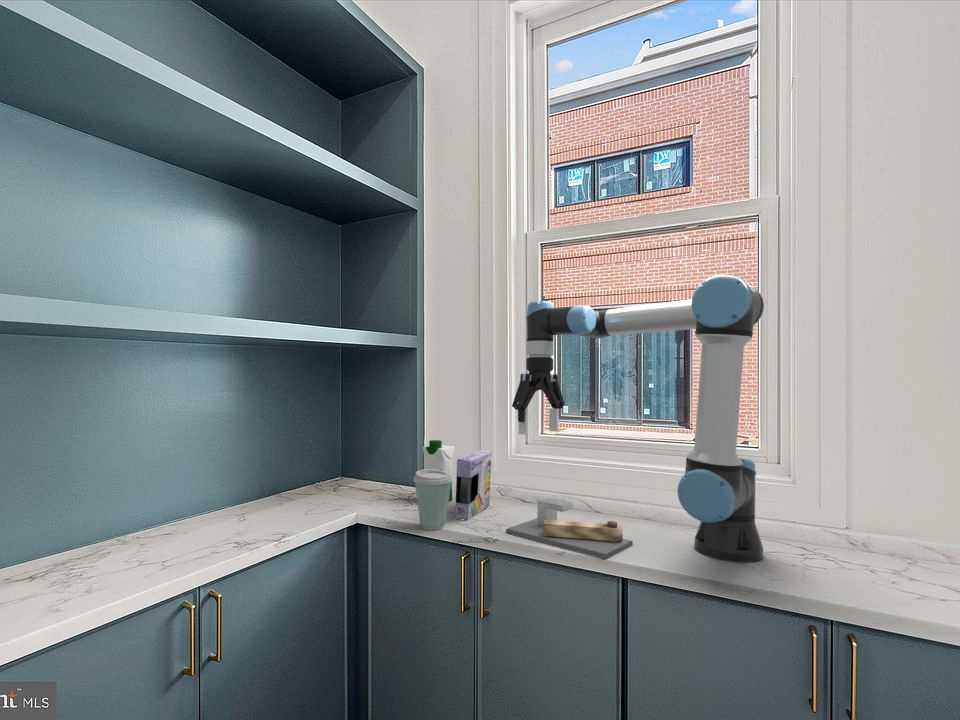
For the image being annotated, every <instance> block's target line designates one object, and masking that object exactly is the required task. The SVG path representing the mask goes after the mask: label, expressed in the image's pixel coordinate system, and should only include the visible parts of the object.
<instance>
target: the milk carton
mask: <svg viewBox="0 0 960 720" xmlns="http://www.w3.org/2000/svg"><path fill="white" fill-rule="evenodd" d="M455 448H456V446H453V445H451V446H450V445H443V443H442V440H439V439H438V440H437V439H431V440H429V443H428V445H425V446H422V450H423V456H424V459H423V460H424V462H423V463H424V465H423V466H424V469H436V470H441V471H445V472H448V473H449V475H450V476H451V477H452V478H453V458H454V452H455ZM424 469H423V470H424ZM450 502H453V480H452V481H451V487H450V494H449V501H448V503H450Z"/></svg>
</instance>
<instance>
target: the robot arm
mask: <svg viewBox="0 0 960 720" xmlns="http://www.w3.org/2000/svg"><path fill="white" fill-rule="evenodd" d="M764 303H765V302H764V299H763V297H762V294H761V292H760V291H759V290H758V289H756V288H755V286H752V285H751V284H749V283H747V282H746V281H745V280H744V279H742V278H740V277H738V276H735V275H729V274H717V275H713V276H711V277H709V278H706V279H705V280H704V281H702V282H701V283H700V284H699V285H698V286H697V287H696V289H695V290H694V291H693V294H692V297H691V299H685V300H684V299H683V300H676V301H669V302H661V303H653V304H644V305H636V306H635V305H634V306H627V307H626V306H625V307H620V308H612V309H611V308H609V309H602V310H594V309H593V307H591V306H589V305H574V306H563V307H555V304H554V302H553V301H549V300H548V301H547V300H539V301H538V300H536V301H535V300H534V301H531V302H529V303H528V304H527V310H526V311H527V313H526V335H527V336H526V355H527V356H528V357H527V358H526V359H525V360H526V363H525V365H526V368H525V369H526V370H527V371H528V373H521V374H520V378H519V379H520V381H519V383H518V387H517V390H516V393H515V396H514V399H513V402H512V405H511V406H512V409H513V408H514V410H517V421H518V422H517V423H518V435H523V436H524V435H526V436H528V435H529V409H528V407H529V405H530V403H531V401H532V399H533V397H534V396H535V393H536V392H538V391H542V392H543V394H544V395H545V397H546V399H547V401H548V403H549V405H550V406H551V407H550V408H549V431H550V432H557V433H558V432H559V429H560V425H559V424H560V423H559V420H560V409H563V408H564V406H565V401H564V398H563V394H562V391H561V386H560V383H559V376H558V374H557V373H553V374H552V373H551V372H552V371H553V370H554V357H553V356H554V353H555V352H554V350H555V349H554V348H555V347H554V344H555V343H554V342H555V341H554V338H555V337H554V336H562V335H563V336H565V335H566V336H567V335H572V336H577V337H579V336H580V337H587V338H592V339H604V338H607V337H614V336H625V335H626V336H627V335H635V334H650V333H660V332H661V333H663V332H674V331H686V330H695V338H697V340H698V341H699V342H700V343H701V352H700V365H699V367H700V368H699V380H698V381H699V382H698V391H697V393H698V395H697V407H696V419H695V420H696V421H695V430H694V431H695V433H694V446H693V447H694V448H693V449H692V450H691V451H690V452H689V453H687V454H686V458H685V469H684V475H683V476H682V477H681V479H680V480H679V482H678V485H677V490H676V491H677V498H678V501H679V503H680V505H681V507H682V508H683V510H684V511H685V513H687V514H688V515H690V517H692V518H693V519H695V520H697V521H700V522H699V525H698V528H697V530H696V533H695V536H694V549H695V550H696V551H697V552H699V553H700V554H702V555H704V556H707V557H710V558H714V559H718V560H723V561H729V562H738V563H739V562H741V563H751V562H757V561H760V560H762V559H764V546H763V543H762V539H761V537H760V534H759V531H758V528H757V526H756V475H757V470H756V465H755V462H754V460H753V459H751V458H742V457H741V458H739V456H738V455H737V446H738V445H737V444H738V431H739V415H740V406H741V405H740V403H741V402H740V401H741V392H742V391H741V389H742V374H743V363H744V350H745V346H746V345H747V344H748V343H749V342H750V341H752V339H753V335H754V333H753V332H754V326H755V325H756V324H757V323H758V322H759V321H760V320H761V318H762V316H763V313H764V310H765V304H764ZM527 409H528V410H527Z"/></svg>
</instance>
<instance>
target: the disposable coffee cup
mask: <svg viewBox="0 0 960 720" xmlns="http://www.w3.org/2000/svg"><path fill="white" fill-rule="evenodd" d="M451 481H452V482H453V476H452V477H451V476H450V475H449V473H448V472H445V471H441V470H436V469H419V470H417V471H415V475H414V476H413V482H414V487H415V493H416V494H415V495H416V500H417V502H416V503H417V508H418V509H417V510H418V517H419V522H420V523H419V524H420V526H421V528H422V529H424V530H428V531H436V530H441V529H443V528H444V527H445V525H446V522H447V515H448V507H449V506H448V505H449V502H448V501H449V494H450V487H451ZM442 527H443V528H442Z"/></svg>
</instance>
